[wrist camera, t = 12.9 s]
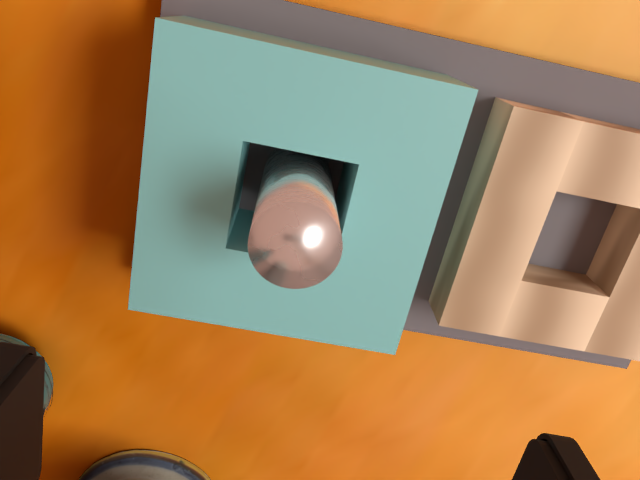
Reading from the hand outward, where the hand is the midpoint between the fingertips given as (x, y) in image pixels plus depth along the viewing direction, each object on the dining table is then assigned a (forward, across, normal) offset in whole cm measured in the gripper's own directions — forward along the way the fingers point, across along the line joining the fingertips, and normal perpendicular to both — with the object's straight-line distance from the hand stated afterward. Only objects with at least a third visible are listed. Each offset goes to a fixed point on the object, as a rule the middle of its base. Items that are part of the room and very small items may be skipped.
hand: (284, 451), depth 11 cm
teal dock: (+18, 0, -1) cm, 18 cm away
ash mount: (+18, -14, -1) cm, 23 cm away
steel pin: (+18, 0, -1) cm, 18 cm away
